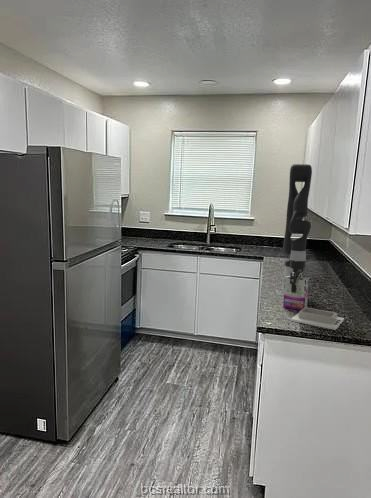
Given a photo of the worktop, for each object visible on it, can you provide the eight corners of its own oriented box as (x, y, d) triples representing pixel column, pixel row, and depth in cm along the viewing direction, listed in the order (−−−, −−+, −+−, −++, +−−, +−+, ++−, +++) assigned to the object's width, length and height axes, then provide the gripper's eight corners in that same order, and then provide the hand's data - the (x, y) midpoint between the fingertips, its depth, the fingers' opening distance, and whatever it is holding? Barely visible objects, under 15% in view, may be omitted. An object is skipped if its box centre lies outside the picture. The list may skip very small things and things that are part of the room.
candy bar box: (307, 308, 192) (309, 277, 190) (304, 311, 188) (306, 279, 186) (286, 304, 198) (287, 274, 196) (282, 307, 194) (284, 276, 192)
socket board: (301, 312, 186) (302, 304, 186) (344, 320, 175) (344, 311, 175) (290, 320, 173) (291, 312, 173) (336, 330, 162) (336, 321, 162)
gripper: (295, 256, 197) (293, 286, 199) (285, 260, 186) (284, 291, 188) (309, 258, 193) (307, 288, 195) (300, 261, 181) (299, 294, 184)
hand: (296, 290), depth 192 cm, fingers open, 8 cm apart
